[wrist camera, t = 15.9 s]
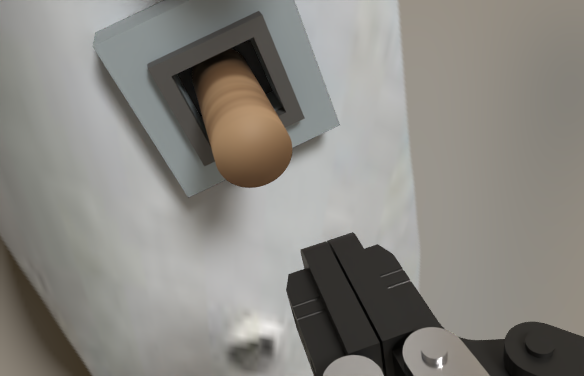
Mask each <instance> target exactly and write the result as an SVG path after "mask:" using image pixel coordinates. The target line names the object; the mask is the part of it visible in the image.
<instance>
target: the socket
mask: <svg viewBox="0 0 584 376" xmlns="http://www.w3.org/2000/svg"><path fill="white" fill-rule="evenodd" d="M249 39H250V40H251V43H252V45H253V47H254V49H255V52H256V54H257V56H258V59H259V61H260V63H261V65H262V68H263V70H264V72H265V75H266V77H267V79H268V81H269V84H270V86H271V88H272V92H270V93H268V94H266V96H267V98H268V100H269V102H270V103H271V105H272V107H273V108H274V110H275V112H276V113H277V115H278V117H279V119H280V120H281V122H282V124H283V125H284V127H285V129H286V131H287V132H288V134H289V136H290V138H291V142H292V148H293V147H295V146H297V145H299V144H302V143H304V142H306V141H308V140H310V139H312V138H314V137H316V136H318V135H320V134H322V133H324V132H327V131H329V130H331V129H333V128H335V127H337V126H339V125H340V124H339V121H338V118H337V115H336V113H335V110H334V107H333V105H332V102H331V99H330V96H329V94H328V91H327V88H326V85H325V83H324V80H323V77H322V75H321V72H320V69H319V66H318V64H317V61H316V58H315V55H314V53H313V50H312V47H311V45H310V42H309V39H308V36H307V34H306V31H305V28H304V25H303V23H302V20H301V17H300V15H299V12H298V9H297V6H296V4H295V1H294V0H163V1H161V2H159V3H157V4H155V5H153V6H151V7H149V8H147V9H145V10H142V11H140V12H138V13H136V14H134V15H132V16H130V17H128V18H126V19H123V20H121V21H119V22H117V23H115V24H113V25H111V26H109V27H107V28H105V29H102V30H100V31H98V32H96V33H95V37H94V42H93V48H94V49H95V51H96V53H97V54H98V56H99V57H100V59H101V61H102V62H103V64H104V65H105V67H106V68H107V70H108V72H109V73H110V75H111V76H112V78H113V79H114V81H115V83H116V84H117V86H118V87H119V89H120V91H121V92H122V94H123V95H124V97H125V98H126V100H127V102H128V103H129V105H130V106H131V108H132V109H133V111H134V113H135V114H136V116H137V117H138V119H139V121H140V122H141V124H142V125H143V127H144V128H145V130H146V132H147V133H148V135H149V136H150V138H151V139H152V141H153V143H154V144H155V146H156V147H157V149H158V151H159V152H160V154H161V155H162V157H163V158H164V160H165V162H166V163H167V165H168V166H169V168H170V169H171V171H172V173H173V174H174V176H175V177H176V179H177V181H178V182H179V184H180V185H181V187H182V188H183V190H184V192H185V193H186V195H187V196H188V198H189V197H191V196H193V195H195V194H197V193H199V192H201V191H204V190H206V189H208V188H210V187H212V186H214V185H216V184H218V183H220V182H222V181H224V180H226V179H225V178H224V177H223V176H222V175H221V174H220V172H219V171H218V169H217V166H216V163H215V160H214V156H213V152H212V149H211V145H210V142H209V138H208V135H207V131H206V128H205V124H204V122H203V120H202V119H201V117H200V115H199V113H198V111H197V109H196V108H195V106H194V104H193V102H192V100H191V99H190V97H189V95H188V93H187V91H186V89H185V88H184V86H183V84H182V82H181V80H180V78H179V77H178V75H177V74H178V73H180V72H182V71H184V70H186V69H188V68H190V67H192V66H194V65H196V64H198V63H201V62H203V61H205V60H207V59H209V58H211V57H213V56H215V55H217V54H219V53H222V52H224V51H226V50H228V49H230V48H232V47H234V46H236V45H238V44H240V43H243V42H245V41H247V40H249Z"/></svg>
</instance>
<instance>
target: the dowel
mask: <svg viewBox="0 0 584 376" xmlns="http://www.w3.org/2000/svg"><path fill="white" fill-rule="evenodd" d="M192 82H193V85H194V89H195V92H196V96H197V99H198V103H199V107H200V110H201V114H202V117H203V121H204V124H205V128H206V131H207V135H208V138H209V142H210V145H211V149H212V152H213V156H214V160H215V163H216V166H217V169H218V171H219V172H220V174H221V175H222V176H223V177H224V178H225V179H226V180H227V181H229V182H230V183H232V184H234V185H237V186H240V187H247V188H253V187H260V186H263V185H266V184H269V183H270V182H272V181H274V180H275V179H277V178H278V177H279V176H280V175H281V174H282V173H283V172H284V171H285V170H286V168H287V166H288V165H289V163H290V160H291V156H292V142H291V138H290V136H289V134H288V132H287V131H286V129H285V127H284V125H283V124H282V122H281V120H280V119H279V117H278V115H277V113H276V112H275V110H274V108H273V107H272V105H271V103H270V102H269V100H268V98H267V96H266V95H265V93H264V91H263V90H262V88H261V86H260V84H259V83H258V81H257V79H256V78H255V76H254V74H253V72H252V71H251V69H250V67H249V66H248V64H247V62H246V61H245V59H244V58H243V56H242V55H241V54H240V53H238V52H237V51H235V50H234V49H231V48H230V49H228V50H226V51H224V52H222V53H219V54H217V55H215V56H213V57H211V58H209V59H207V60H205V61H203V62H201V63H198V64H196V65H194V66H193V68H192Z"/></svg>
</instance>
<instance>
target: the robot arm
mask: <svg viewBox="0 0 584 376" xmlns="http://www.w3.org/2000/svg"><path fill="white" fill-rule="evenodd" d="M301 256H302V260H303V264H304V269H303V270H300V271H297V272H294V273H291V274H289V276H288V282H287V289H286V291H287V295H288V298H289V302H290V306H291V309H292V313H293V317H294V320H295V324H296V328H297V330H298V333H299V336H300V339H301V341H302V344H303V347H304V350H305V352H306V355H307V358H308V361H309V363H310V366H311V369H312V372H313V374H314V376H584V337H582V336H579V335H576V334H574V333H571V332H568V331H565V330H562V329H560V328H557V327H554V326H551V325H548V324H545V323H539V322H525V323H521V324H518V325H516V326H514V327H513V328H511V329H510V330H509V332H508V333H507V335H506V337H505V339H498V340H467V339H463V338H460V337H458V336H456V335H455V334H454V333H452V332H450V331H448V330H445V329H444V328H443V327H442V326H441V325H440V323H439V322H438V321H437V319H436V318H435V316H434V315H433V313H432V312H431V310H430V309H429V307H428V306H427V304H426V303H425V301H424V300H423V298H422V297H421V295H420V294H419V292H418V291H417V289H416V288H415V286H414V285H413V283H412V282H410V279H409V277H408V276H407V274H406V273H405V271H403V269H402V267H401V265H400V264H399V262H398V261H397V259H396V258H395V256H394V255H393V254H392V253H390V252H389V251H387V250H386V249H384V248H383V247H381V246H379V245H378V244H377V245H374V246H371V247H368V248H365V249H364V248H363V246H362V245H361V243H360V241H359V240H358V238H357V237H356V235H355V234H354V233H353V232H352V233H349V234H346V235H343V236H340V237H337V238H334V239H331V240H328V241H327V242H323V243H319V244H316V245H313V246H310V247H307V248H304V249H301Z"/></svg>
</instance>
